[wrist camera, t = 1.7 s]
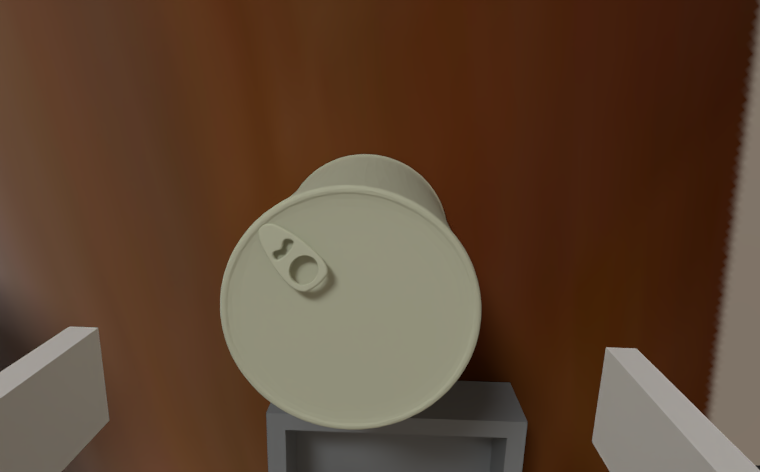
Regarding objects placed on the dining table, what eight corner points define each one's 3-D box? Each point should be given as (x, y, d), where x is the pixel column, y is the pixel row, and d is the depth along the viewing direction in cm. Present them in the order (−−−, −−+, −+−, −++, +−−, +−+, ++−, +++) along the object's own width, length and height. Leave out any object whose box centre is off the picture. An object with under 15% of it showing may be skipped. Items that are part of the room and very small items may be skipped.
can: (369, 118, 27) (353, 123, 15) (480, 239, 28) (543, 330, 17) (252, 230, 28) (156, 313, 17) (362, 340, 30) (345, 485, 18)
